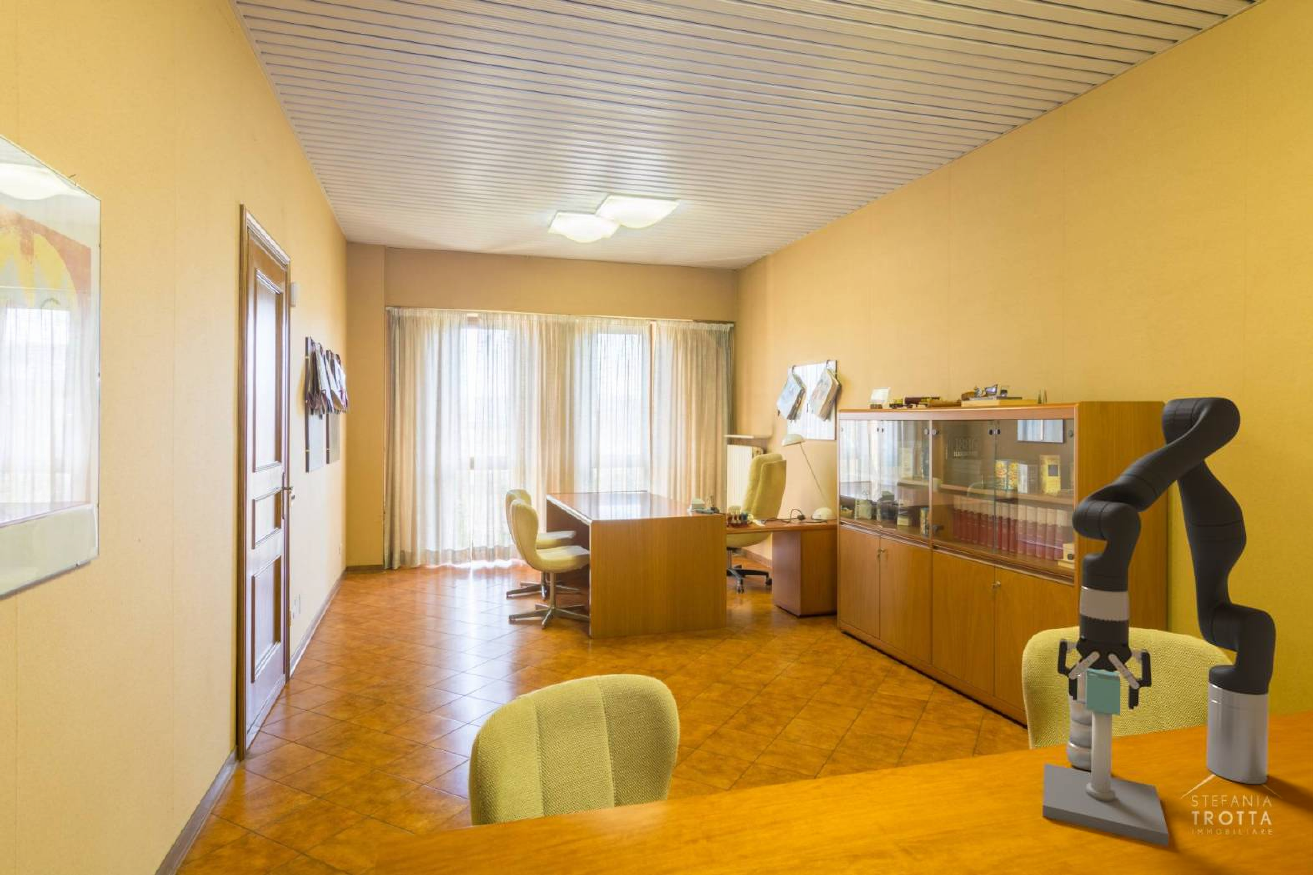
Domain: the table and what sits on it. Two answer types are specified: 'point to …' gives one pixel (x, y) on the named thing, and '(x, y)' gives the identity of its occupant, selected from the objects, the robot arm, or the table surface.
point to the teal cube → (1103, 691)
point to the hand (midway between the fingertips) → (1102, 703)
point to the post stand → (1103, 794)
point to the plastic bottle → (1080, 728)
